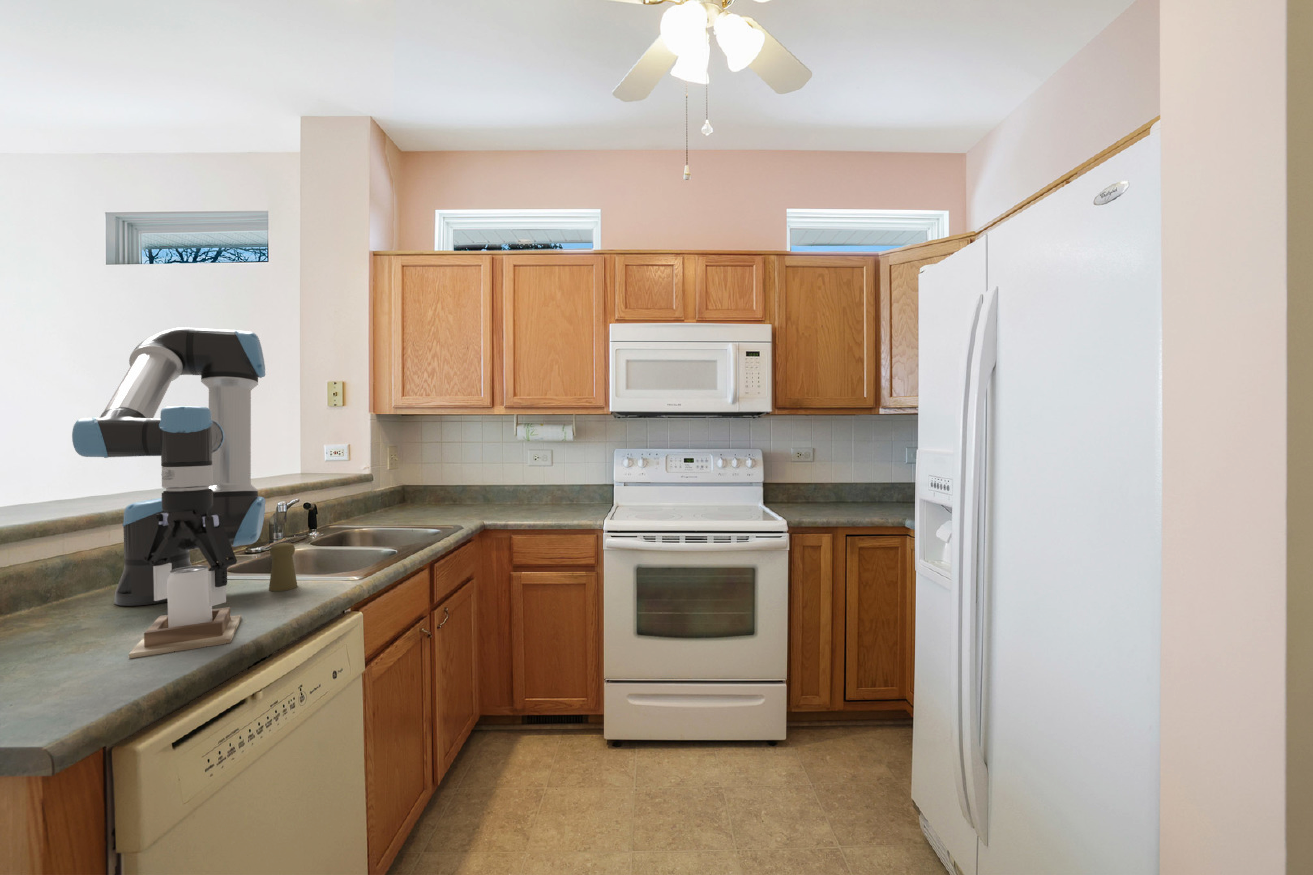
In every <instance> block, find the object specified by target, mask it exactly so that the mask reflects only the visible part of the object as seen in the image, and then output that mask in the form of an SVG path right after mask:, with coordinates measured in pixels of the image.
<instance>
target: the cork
mask: <svg viewBox="0 0 1313 875" xmlns="http://www.w3.org/2000/svg"><path fill="white" fill-rule="evenodd" d="M295 551H296V548H295V545H294V544H293V543H290V542H280V543H276V544H273V545H271V547H270V550H269V554H270V557H271V558H272V562H271V563H272V564H271V570H270V571H271V572H270V578H269V584H268V585H269V586H268V591H269V592H283V591H289V590H294V589H297V587H298V582H297V576H296V570H295V565H294V564H295V563H294V557H293V556H294V554H295Z"/></svg>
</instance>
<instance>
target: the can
mask: <svg viewBox="0 0 1313 875" xmlns="http://www.w3.org/2000/svg"><path fill="white" fill-rule="evenodd" d="M208 568H209V565H204V564H203V565H202V564H201V565H192V566H188V567H182V568H177V569H173V570H171V571H170V576H169V578H168V580H167V598H168V602H167V615H168V628H170V627H177V626H184V625H192V624H199V623H206V622H212V609H213V606H209V601H208V570H209V569H208Z"/></svg>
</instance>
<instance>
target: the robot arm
mask: <svg viewBox="0 0 1313 875" xmlns="http://www.w3.org/2000/svg"><path fill="white" fill-rule="evenodd" d="M261 344H262V343H261V341H260V338H259V336H258V335H257V334H256V333H254V332H253V331H247V330H237V329H217V328H204V327H203V328H199V327H191V326H190V327H188V326H186V327H185V326H182V327H181V326H179V327H174V328H170V329H165V330H162V331H159V332H157V333H155V334H153V335H151V336H149V337H147V338H146V339H144V340H143V341H141V342H140V343H139V344H138V345H137V346H136V347H135V348H134V349H133V351H132V352H131V354H130V355H129V360H128V361H129V362H128V363H129V369H128V370H127V372H126V373H125V375H124V377H123V378H122V380H121V382H120V384H119V385H118V386H117V388H116V390H115V392H114V393H113V395H112V397H111V399H109V402H108V404H107V405H106V407H105V409H104V410H103V412H102V413H101V415H100V416H99V417H96V416H92V417H82V418H79V419H77V420H76V421H75V423H74V424H73V426H72V433H71V438H72V439H71V440H72V441H71V442H72V446H73V448H74V450H75V452H76V453H77V454H78V455H79V456H81V457H85V458H105V459H108V458H129V457H132V458H133V457H161V458H160V462H161V463H160V464H161V465H160V466H161V488H163V489H166V490H164V491H162V492H161V497H158V498H153V499H152V498H151V499H146V500H141V501H137V502H133V503H129V504H128V505H127V506H126V507H125V508H124V511H123V523H122V527H123V557H124V561H123V562H124V564H123V565H124V567H123V571H122V574H121V577H120V579H119V582H118V584H117V587H116V589H115V592H114V604H115V605H116V606H121V607H122V606H123V607H135V606H147V605H154V604H155V605H156V604H162V603H163V604H164V603H166V602H167V603H168V598H167V580H168V578H169V576H170V571H171V570H173V569H177V568H182V567H188V566H193V565H192V563H191V561H190V560H191V558H190V550H191V551H192V550H200V552H201V554H202V555H203V556H204V559H205V560H206V562H207V563H208V564H209V565H208V566H210V567H209V569H208V601H209V606H212V607H213V606H217V605H220V604H223V603H227V584H228V569H229V567H230V566H233V565H236V564H238V563H237V562H238V560H237V557H236V555H235V551H234V549H233V547H234V548H235V547H239V546H246V545H253V544H254V543H256V542H257V541H258V540H259V538H260V537H261V533H262V529H263V525H264V521H265V514H266V498H265V497H263V496H259V490H258V489H257V488H256V487H255V486H254V485H253V484H251V483H252V480H251V476H252V475H251V474H252V473H251V471H252V470H251V469H252V467H251V466H252V464H251V462H252V459H251V458H252V457H251V456H252V452H251V451H252V450H251V448H252V447H251V446H252V444H251V443H252V436H251V435H252V433H251V432H252V431H251V430H252V426H251V425H252V419H251V418H252V417H251V416H252V410H251V409H252V403H251V402H252V400H251V399H252V394H251V393H252V390H253V389H254V388H256V387H257V386H259V378H260V379H261V378H264V377H265V376H266V365H265V359H264V353H263V349H262V345H261ZM182 375H183V376H191V375H192V376H200V378H201V379H200V382H201V384H203V385H204V386H205V387H207V389H208V407H205V406H193V405H192V406H187V405H185V406H181V405H180V406H179V405H178V406H177V405H176V406H173V405H170V406H165V407H163V408H162V409H161V410H160V417H158V418H157V417H155V415H156V413H157V412H158V410H159V408H160V405H161V403H162V401H163V399H164V397H165V395H166V392H167V391H168V388H169V387H170V385H171V383H172V382H173V381H175V380H177V379H178V378H179V377H180V376H182Z"/></svg>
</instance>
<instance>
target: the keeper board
mask: <svg viewBox="0 0 1313 875" xmlns="http://www.w3.org/2000/svg"><path fill="white" fill-rule="evenodd" d="M241 620H242V614H239V615H238V614H237V615H231V607H230V606H229V607H221V608H220V607H219V608H212V622H206V623H199V624H192V625H184V626H177V627H170V628H168V614H165V615H159V616H158V617H157V618H156V619H155V621H154V622H152V624H150V626H149V627H148V628H147V629H146V630H145V631H144V632H143V637H142V638H141V640H140V641H139V642H138V643H137V644H136V645H135V646H134V647H133V648H132V650H130V652H129V653H128V659H134V658H141V657H147V656H156V655H160V654H167V653H173V652H174V651H175V652H179V651H180V652H181V651H187V650H193V649H199V648H206V646H207V647H213V646H219V645H225V644H226V643H227V644H231V642H232V639H233V637H234V636H235V634H236V632H237V628H238V627H239V625H240V622H241ZM234 633H235V634H234Z"/></svg>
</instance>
